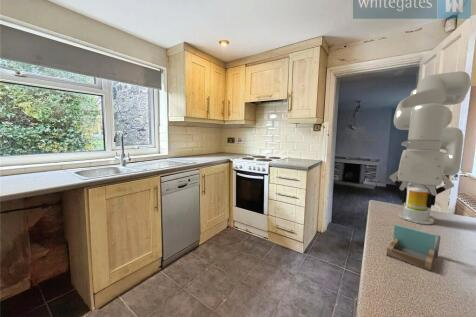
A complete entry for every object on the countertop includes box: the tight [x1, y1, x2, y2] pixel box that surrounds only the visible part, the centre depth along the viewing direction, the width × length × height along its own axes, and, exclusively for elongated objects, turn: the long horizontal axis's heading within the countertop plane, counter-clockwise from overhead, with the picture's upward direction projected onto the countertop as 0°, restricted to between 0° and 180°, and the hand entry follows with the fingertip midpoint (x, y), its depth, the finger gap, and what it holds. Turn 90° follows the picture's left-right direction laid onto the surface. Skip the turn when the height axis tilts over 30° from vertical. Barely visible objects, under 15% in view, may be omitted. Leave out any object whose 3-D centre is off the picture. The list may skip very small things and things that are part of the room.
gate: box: [392, 224, 442, 259], centre depth 70 cm, size 1×12×7 cm, turn 44°
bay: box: [386, 237, 435, 272], centre depth 67 cm, size 10×10×2 cm
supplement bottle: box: [405, 183, 430, 213], centre depth 64 cm, size 5×5×10 cm
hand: (416, 203), depth 65 cm, fingers closed on supplement bottle, 5 cm apart
